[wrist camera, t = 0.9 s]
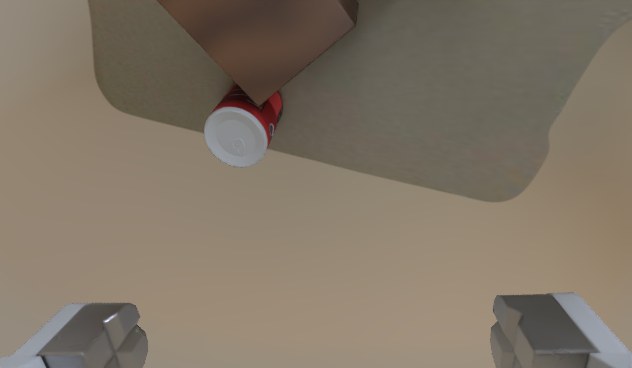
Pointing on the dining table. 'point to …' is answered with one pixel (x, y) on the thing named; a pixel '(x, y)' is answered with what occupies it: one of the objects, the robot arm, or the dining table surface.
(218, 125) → the canned food
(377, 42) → the dining table surface
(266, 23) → the cabinet
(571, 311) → the robot arm
